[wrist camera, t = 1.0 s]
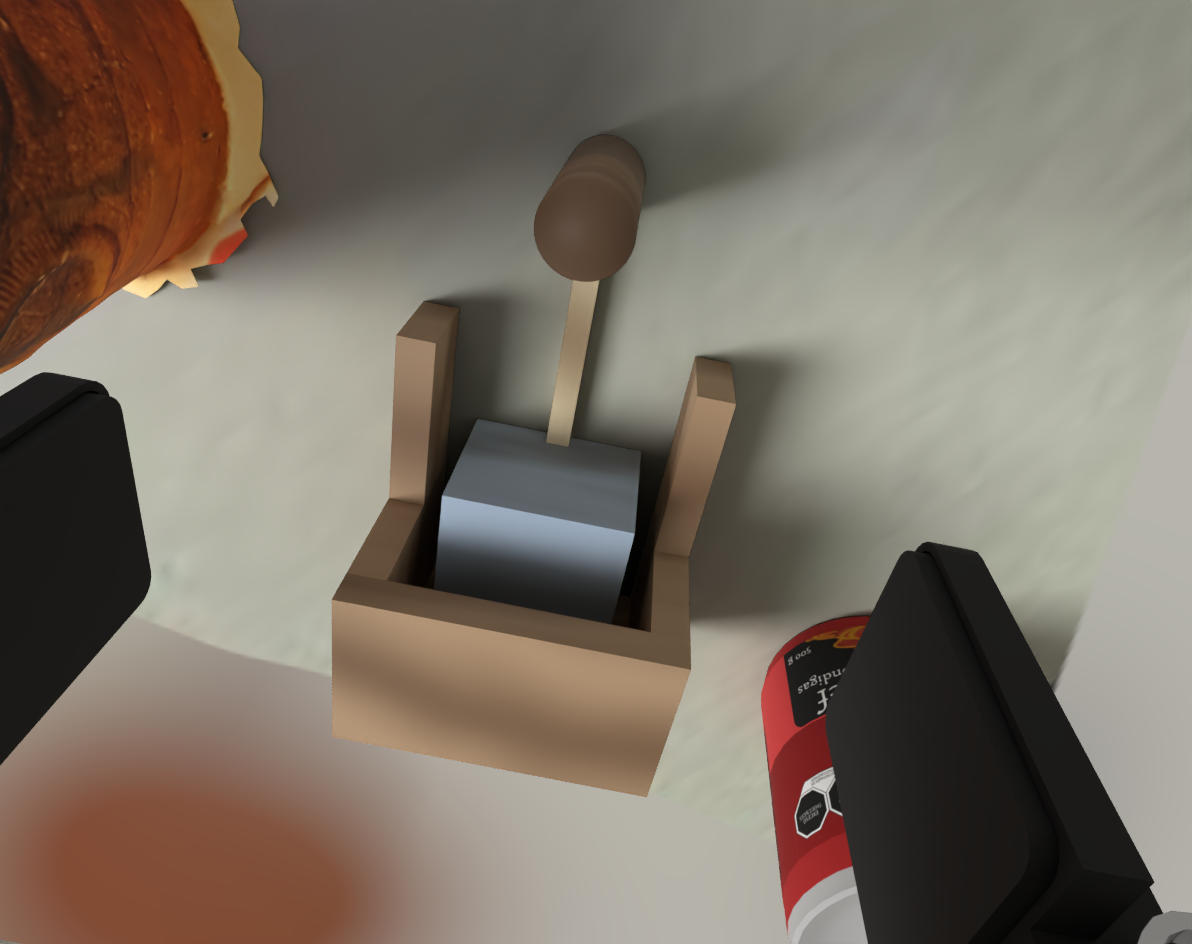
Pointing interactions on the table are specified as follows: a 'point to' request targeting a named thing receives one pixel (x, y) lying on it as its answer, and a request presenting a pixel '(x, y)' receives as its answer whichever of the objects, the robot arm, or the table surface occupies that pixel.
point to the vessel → (118, 154)
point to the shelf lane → (515, 610)
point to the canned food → (810, 785)
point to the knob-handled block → (554, 430)
